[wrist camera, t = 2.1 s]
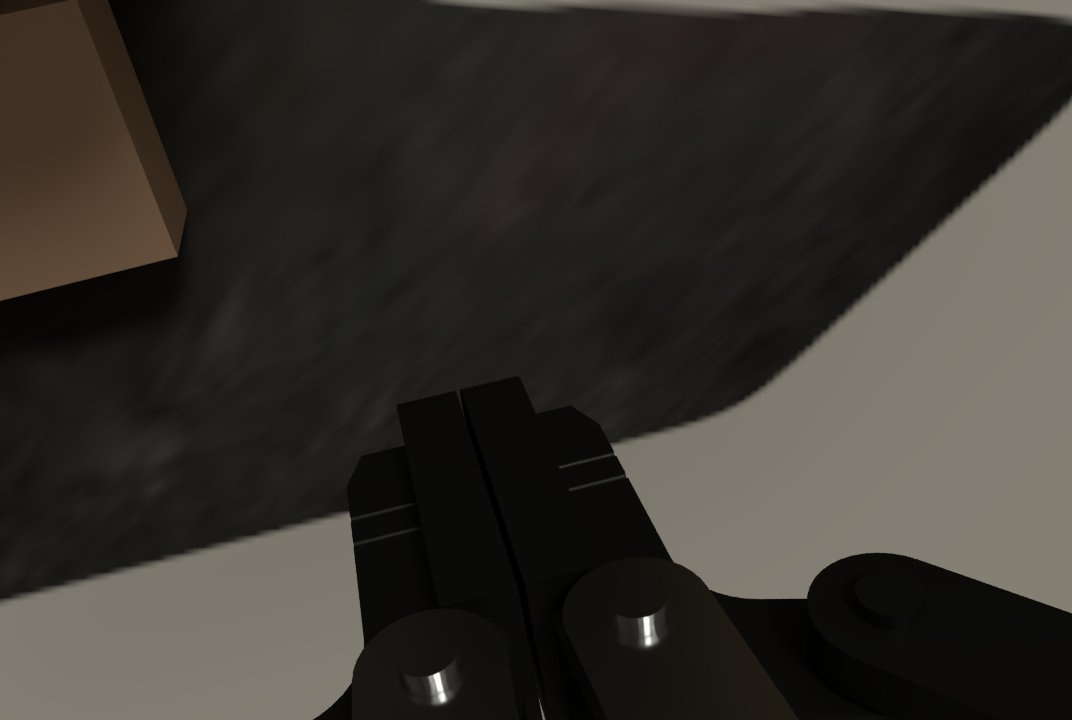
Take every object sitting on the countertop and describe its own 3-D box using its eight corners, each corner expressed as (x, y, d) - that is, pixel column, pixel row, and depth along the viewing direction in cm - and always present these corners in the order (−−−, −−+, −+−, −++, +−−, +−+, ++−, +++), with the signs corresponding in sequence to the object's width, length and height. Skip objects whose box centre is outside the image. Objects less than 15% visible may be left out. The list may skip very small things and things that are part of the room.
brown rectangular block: (-162, 31, 27) (-225, 64, 24) (99, -25, 28) (76, -2, 24) (-42, 263, 31) (-81, 320, 27) (187, 207, 31) (177, 256, 28)
